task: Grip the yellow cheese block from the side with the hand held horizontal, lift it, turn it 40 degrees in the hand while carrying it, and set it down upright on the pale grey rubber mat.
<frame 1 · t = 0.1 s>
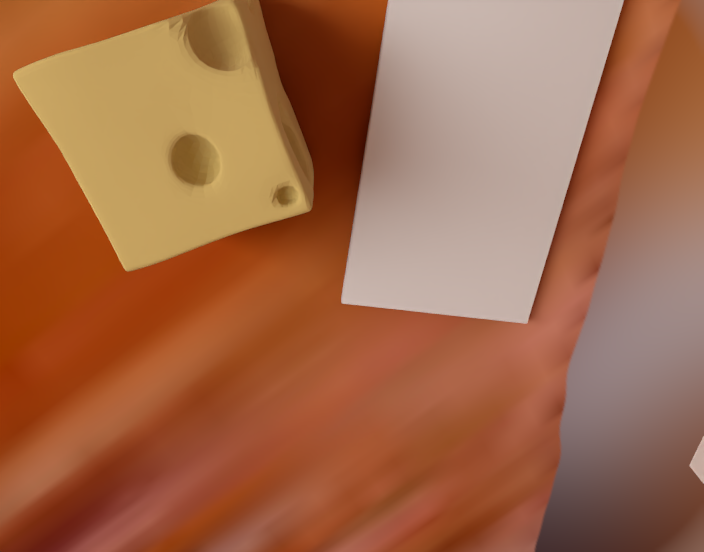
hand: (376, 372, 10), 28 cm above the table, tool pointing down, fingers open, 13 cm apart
cheese: (209, 113, 36), on the table
mat: (476, 119, 36), on the table
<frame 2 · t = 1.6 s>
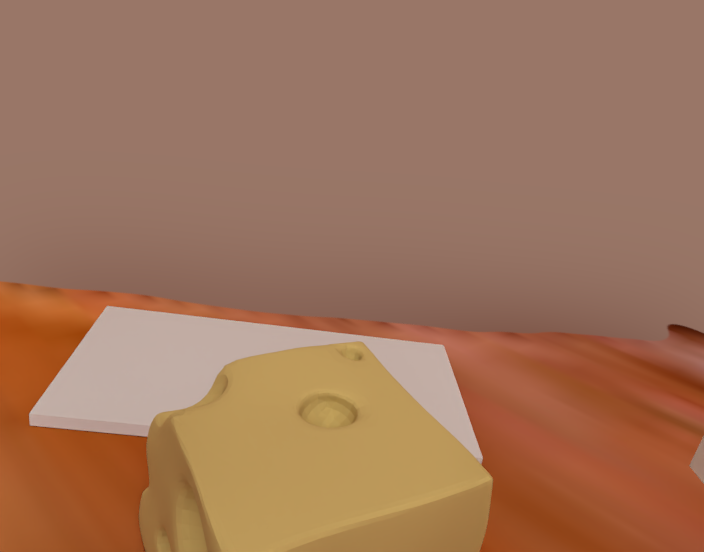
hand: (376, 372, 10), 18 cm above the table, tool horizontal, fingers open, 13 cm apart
mat: (272, 383, 41), on the table
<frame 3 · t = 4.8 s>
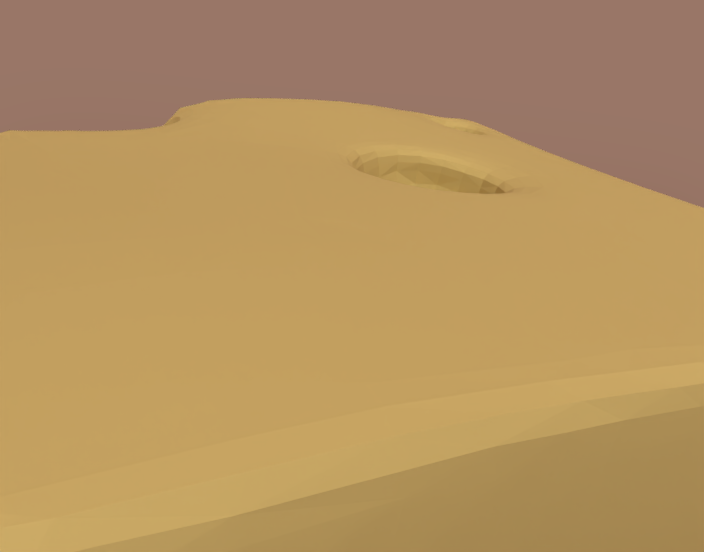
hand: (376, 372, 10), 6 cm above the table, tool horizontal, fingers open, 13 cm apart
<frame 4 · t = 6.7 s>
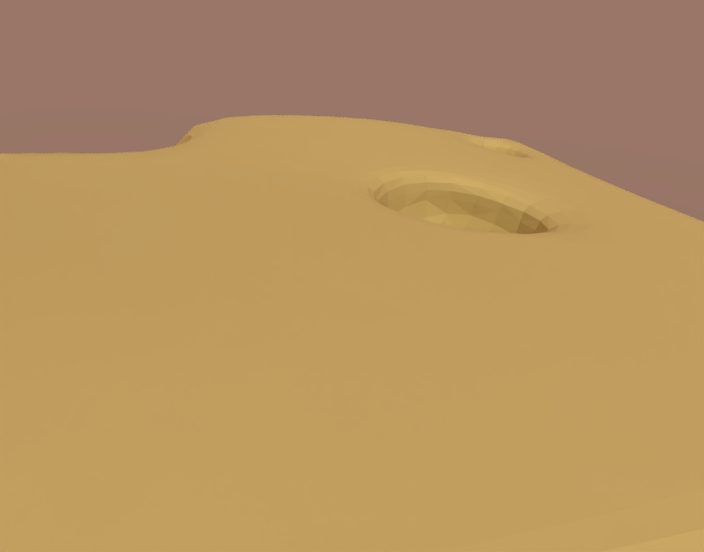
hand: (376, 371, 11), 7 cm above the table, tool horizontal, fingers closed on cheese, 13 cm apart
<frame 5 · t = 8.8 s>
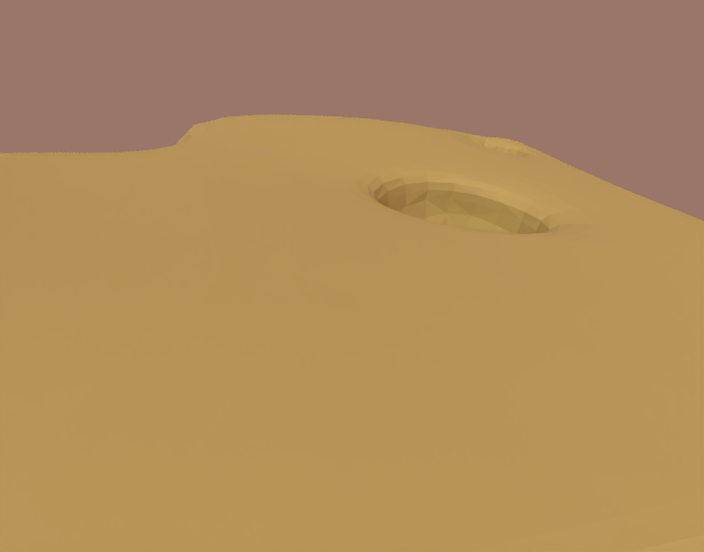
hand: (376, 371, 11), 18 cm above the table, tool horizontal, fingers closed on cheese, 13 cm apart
when the fingers open (8 cm above the table, at t = 12.0 s): cheese drops 1 cm, resting on mat.
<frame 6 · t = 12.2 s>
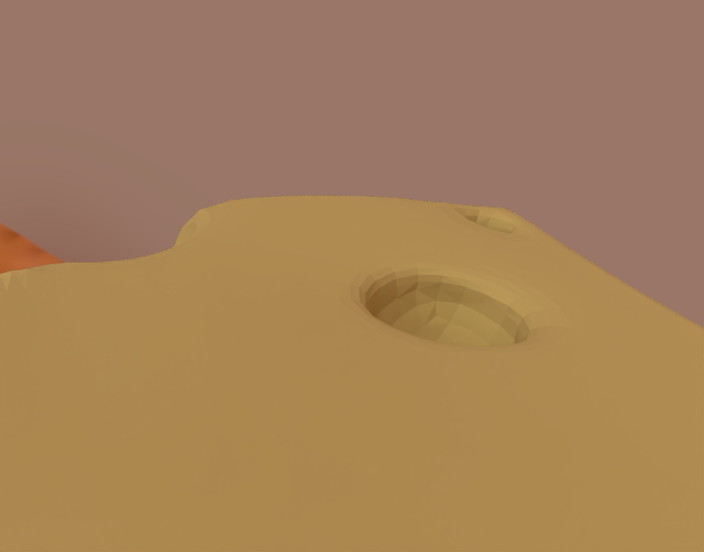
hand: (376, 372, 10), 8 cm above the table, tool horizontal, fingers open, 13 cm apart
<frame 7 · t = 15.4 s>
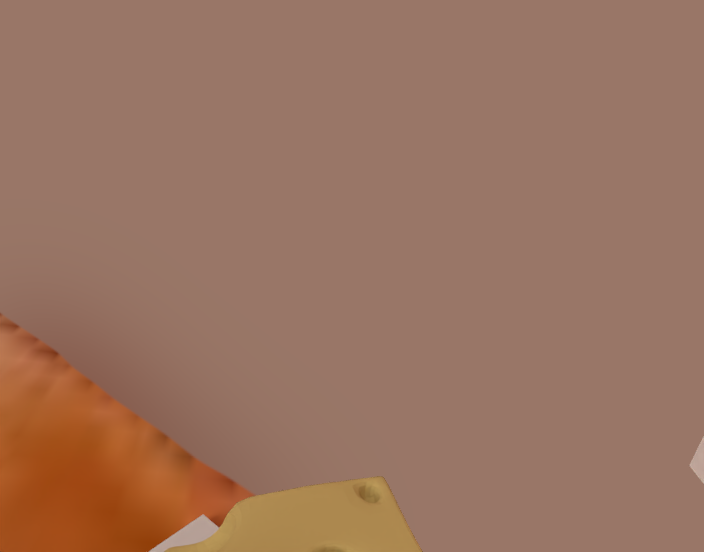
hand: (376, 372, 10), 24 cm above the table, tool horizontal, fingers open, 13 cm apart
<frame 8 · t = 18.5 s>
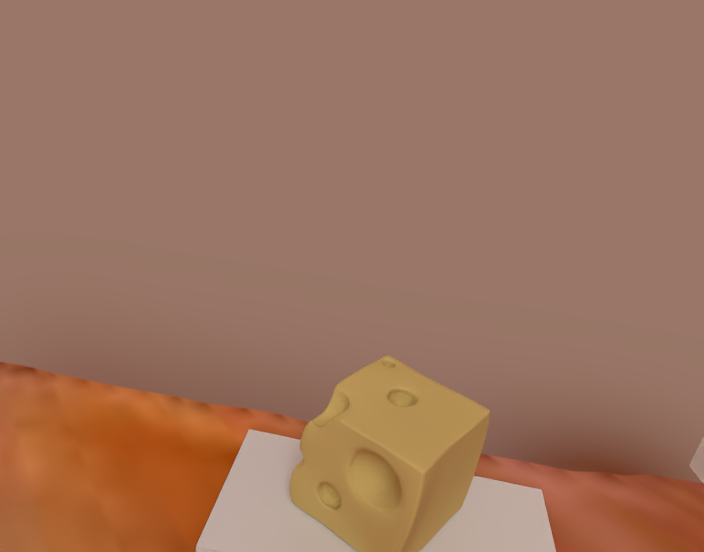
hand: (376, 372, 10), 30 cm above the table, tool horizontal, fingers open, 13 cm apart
cheese: (380, 507, 47), point 1 cm above the table, touching mat
mat: (386, 522, 47), on the table
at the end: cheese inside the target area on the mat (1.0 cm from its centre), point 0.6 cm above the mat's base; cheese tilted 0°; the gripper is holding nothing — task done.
